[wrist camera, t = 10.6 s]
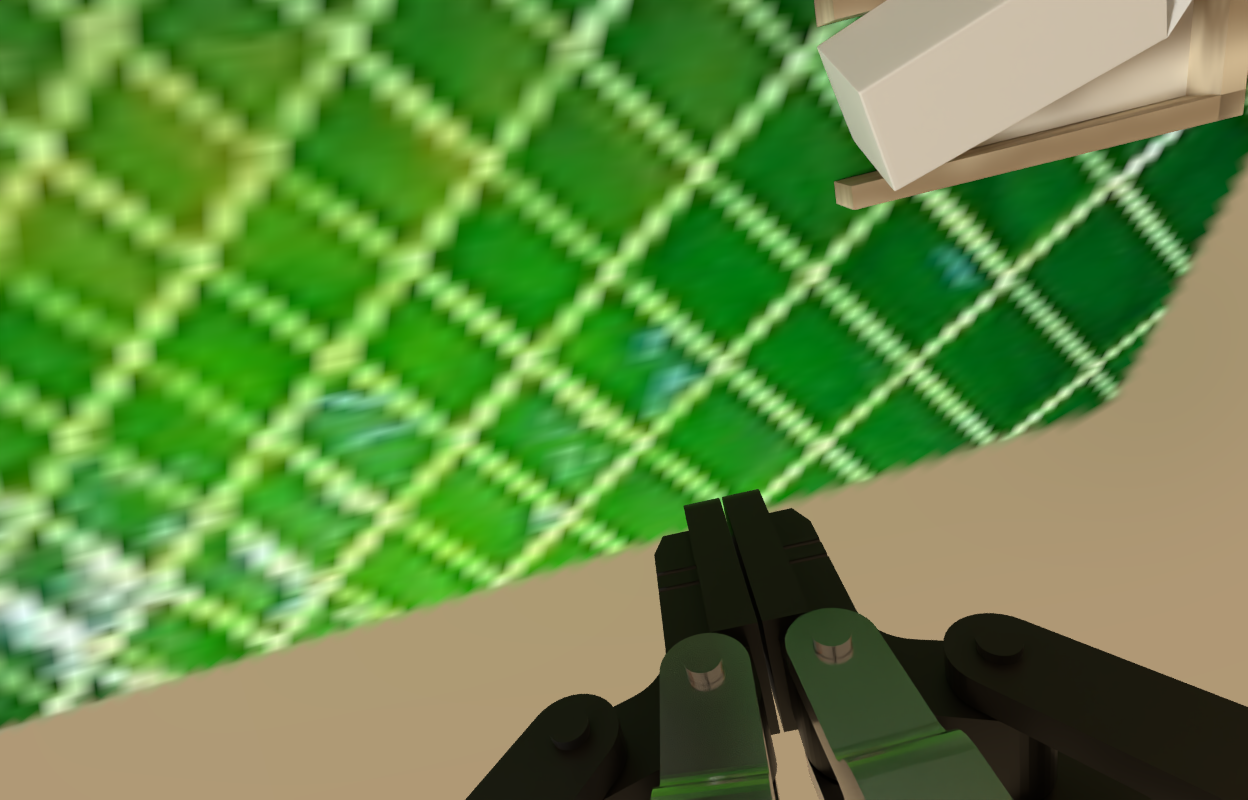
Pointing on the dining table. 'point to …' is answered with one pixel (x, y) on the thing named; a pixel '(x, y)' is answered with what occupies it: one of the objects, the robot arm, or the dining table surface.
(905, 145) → the milk carton
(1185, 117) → the u rest
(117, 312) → the dining table surface
